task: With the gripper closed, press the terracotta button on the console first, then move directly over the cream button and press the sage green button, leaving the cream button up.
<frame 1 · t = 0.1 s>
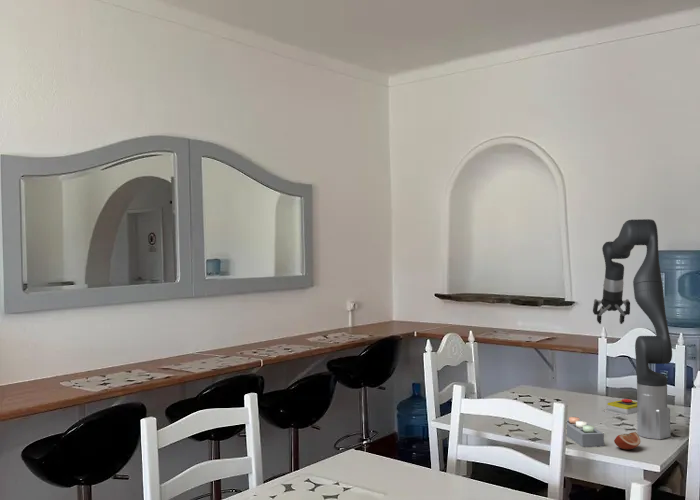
hand: (610, 323, 280), 31 cm above the table, tool tilted 20°, fingers open, 8 cm apart
console: (581, 438, 221), on the table
terracotta button: (574, 421, 227), point 4 cm above the table, slide at 0.0 cm
emergency button: (625, 412, 259), on the table
fruit slice: (627, 449, 209), on the table
sage button: (588, 429, 216), point 4 cm above the table, slide at 0.0 cm
cream button: (581, 425, 221), point 4 cm above the table, slide at 0.0 cm
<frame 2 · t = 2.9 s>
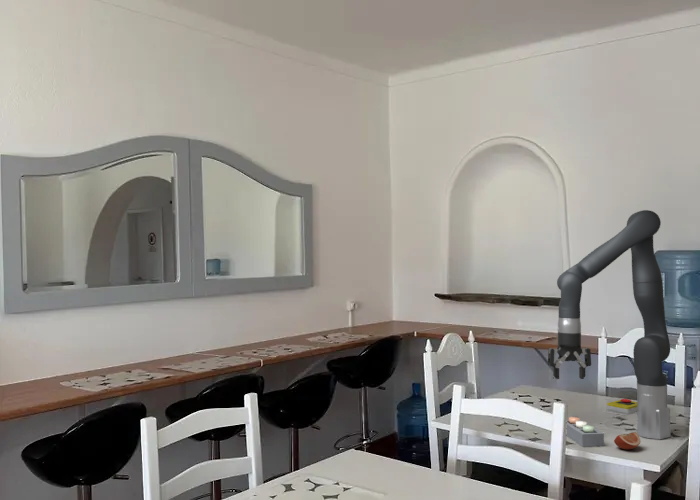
hand: (569, 378, 228), 18 cm above the table, tool pointing down, fingers open, 8 cm apart
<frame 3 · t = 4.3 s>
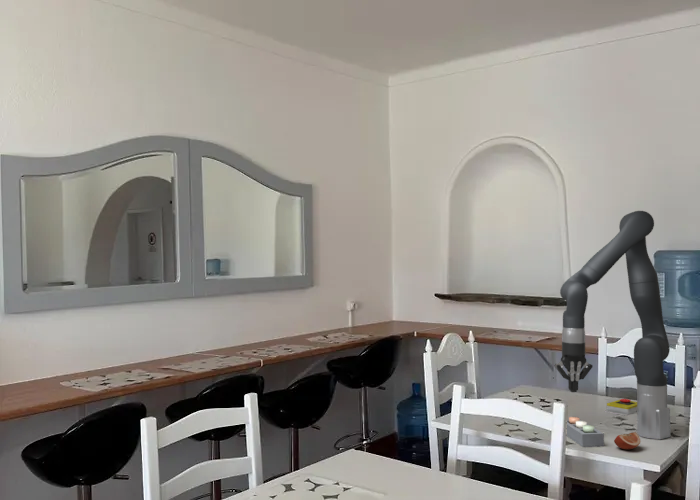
hand: (573, 391, 227), 14 cm above the table, tool pointing down, fingers closed
nothing on the table moved.
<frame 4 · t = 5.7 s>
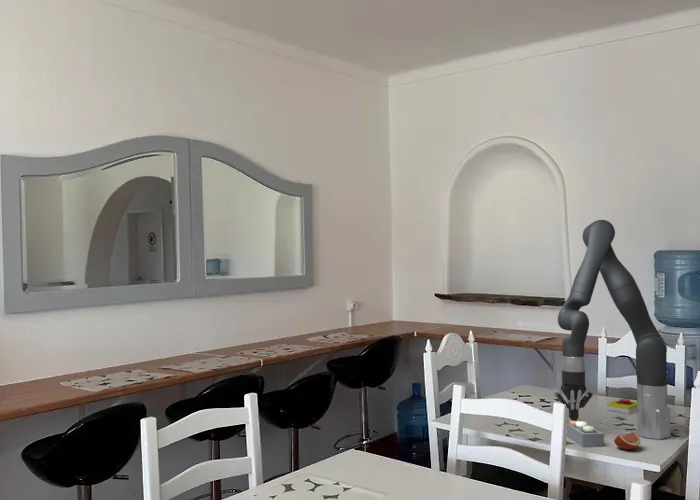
hand: (573, 420, 227), 5 cm above the table, tool pointing down, fingers closed
terracotta button: (574, 423, 227), point 4 cm above the table, slide at 0.8 cm, touching gripper
everything else where it was.
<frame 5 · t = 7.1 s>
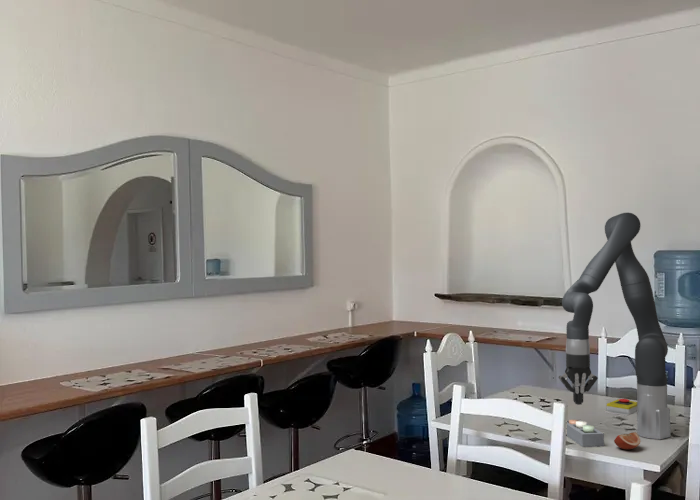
hand: (578, 404, 223), 11 cm above the table, tool pointing down, fingers closed
terracotta button: (574, 423, 227), point 4 cm above the table, slide at 0.9 cm
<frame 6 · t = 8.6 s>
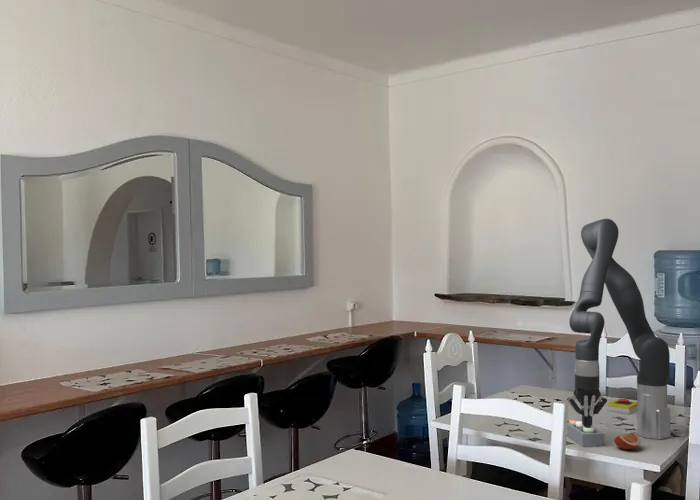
hand: (587, 427, 216), 5 cm above the table, tool pointing down, fingers closed
sage button: (588, 430, 216), point 4 cm above the table, slide at 0.3 cm, touching gripper
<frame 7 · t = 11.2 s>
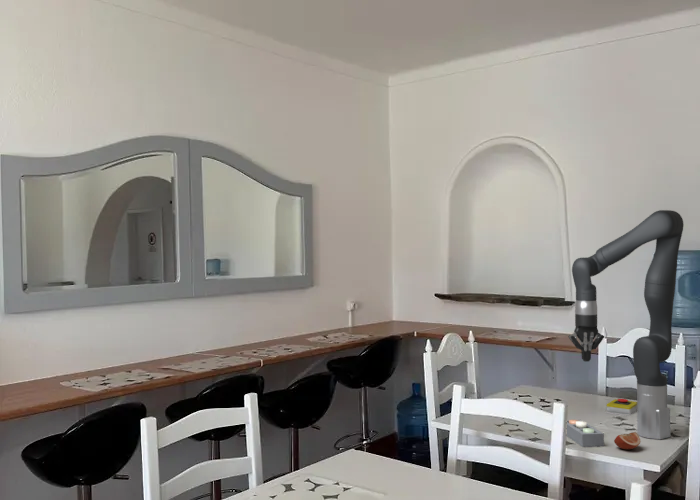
hand: (586, 361, 241), 22 cm above the table, tool pointing down, fingers closed
sage button: (588, 432, 216), point 4 cm above the table, slide at 0.9 cm
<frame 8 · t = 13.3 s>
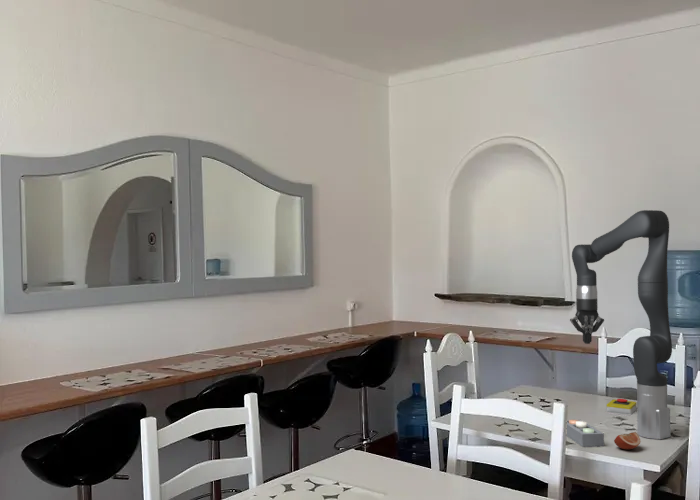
hand: (587, 343, 252), 27 cm above the table, tool pointing down, fingers closed
at the end: terracotta button slide at 0.9 cm; sage button slide at 0.9 cm; cream button slide at 0.0 cm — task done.
